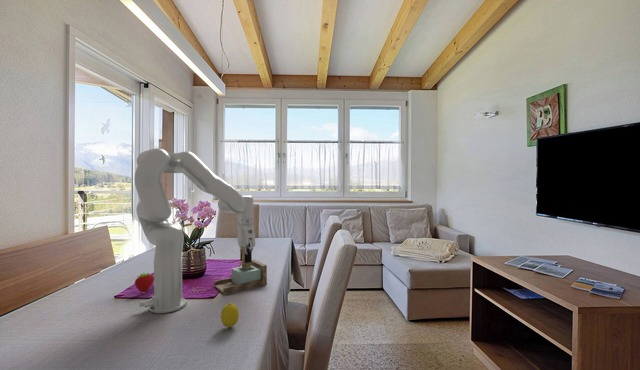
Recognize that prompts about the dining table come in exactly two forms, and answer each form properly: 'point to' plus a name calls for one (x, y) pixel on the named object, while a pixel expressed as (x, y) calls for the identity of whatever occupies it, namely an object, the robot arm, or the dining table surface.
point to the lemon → (229, 315)
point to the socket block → (245, 275)
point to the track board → (230, 287)
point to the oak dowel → (244, 265)
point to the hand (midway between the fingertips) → (245, 260)
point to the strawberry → (144, 282)
